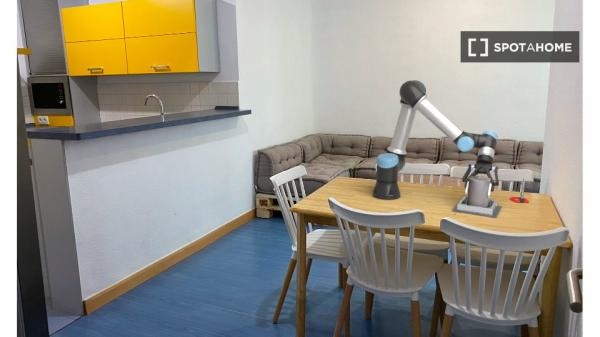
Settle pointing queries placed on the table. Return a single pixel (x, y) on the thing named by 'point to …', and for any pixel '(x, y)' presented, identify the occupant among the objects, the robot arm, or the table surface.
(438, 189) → the table surface
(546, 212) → the table surface
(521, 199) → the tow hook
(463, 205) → the square socket
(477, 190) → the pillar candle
